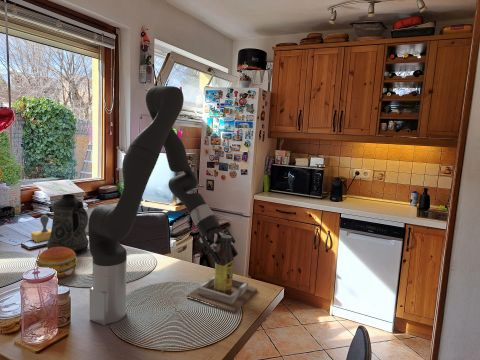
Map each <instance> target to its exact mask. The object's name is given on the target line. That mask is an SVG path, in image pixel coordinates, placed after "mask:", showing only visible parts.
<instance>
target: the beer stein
mask: <svg viewBox="0 0 480 360" xmlns="http://www.w3.org/2000/svg"><path fill="white" fill-rule="evenodd" d="M84 207H85V206H84V204H83V202H82V201H81V200H79V199H78V198H77V197H76V195H75V194H73V193H72V194H67V193H66V194H63V195H62V197H60V199H58V200H57V201H55V202H54V203H53V204H52V205H51V209H52V211H53V215H52V224H51V228H52V229H51V228H50V229H51V235H50V238H49V240H47V243H46V248H47V249H49V248H53V247H67V248H69V249H72V250H73V251H74V252H75V254H76V255H80V254H83V253H85V252H87V250H88V247H89V237H88V236H87V232H86V228H88V223H89V216H88V212H87V211H86V209H85V208H84ZM82 252H83V253H82Z"/></svg>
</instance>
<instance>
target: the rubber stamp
mask: <svg viewBox="0 0 480 360" xmlns="http://www.w3.org/2000/svg"><path fill="white" fill-rule="evenodd" d="M49 220H50V219H49V215H47V214H42V215H41V216H40V219H39V221H40V223H41V225H42V230H37V231H32V232H30V233H31V234H30V235H31V236H30V237H31V238H30V239H32V240H31V241H33V240H34V241H33V242H35V241H36V242H35V243H40V241H41V242H44V241H49V238H50V235H51V229H52V227H51V228H47V226H48V223H49Z"/></svg>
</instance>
